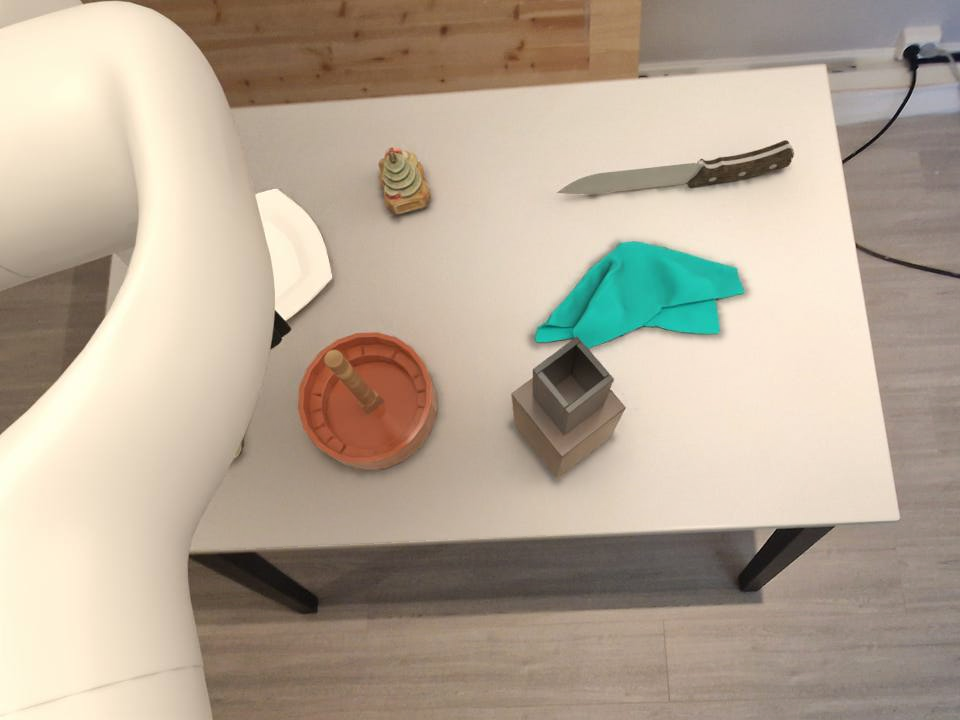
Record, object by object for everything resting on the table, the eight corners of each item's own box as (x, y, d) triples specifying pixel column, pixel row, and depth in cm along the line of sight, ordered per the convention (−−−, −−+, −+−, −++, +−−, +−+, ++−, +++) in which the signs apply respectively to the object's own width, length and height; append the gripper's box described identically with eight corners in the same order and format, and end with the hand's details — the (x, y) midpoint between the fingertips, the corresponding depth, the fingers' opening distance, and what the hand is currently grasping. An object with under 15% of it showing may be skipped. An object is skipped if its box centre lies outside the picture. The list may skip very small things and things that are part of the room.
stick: (386, 404, 84) (348, 358, 67) (369, 416, 84) (328, 373, 67) (377, 393, 85) (338, 344, 68) (361, 405, 85) (318, 358, 68)
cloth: (731, 232, 89) (736, 223, 87) (753, 334, 84) (759, 327, 82) (525, 254, 90) (524, 246, 88) (536, 356, 86) (536, 350, 83)
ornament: (375, 174, 95) (358, 128, 86) (418, 159, 95) (406, 112, 86) (392, 223, 93) (376, 181, 83) (437, 208, 93) (426, 164, 83)
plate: (160, 252, 94) (152, 245, 92) (286, 179, 96) (281, 171, 94) (222, 366, 88) (215, 362, 86) (355, 286, 90) (351, 280, 88)
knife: (798, 135, 87) (559, 161, 85) (804, 153, 86) (563, 179, 85) (778, 163, 93) (553, 187, 91) (783, 179, 92) (557, 204, 90)
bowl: (462, 418, 84) (457, 407, 79) (357, 496, 82) (345, 490, 77) (390, 324, 88) (381, 307, 83) (289, 396, 86) (273, 384, 81)
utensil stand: (611, 436, 82) (639, 381, 60) (557, 478, 81) (566, 438, 59) (567, 384, 84) (579, 313, 62) (514, 424, 83) (507, 366, 61)
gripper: (-41, 78, 36) (136, 235, 53) (109, 324, 31) (253, 414, 48) (86, 2, 37) (221, 179, 54) (251, 229, 32) (345, 349, 49)
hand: (236, 290), depth 51 cm, fingers open, 9 cm apart
